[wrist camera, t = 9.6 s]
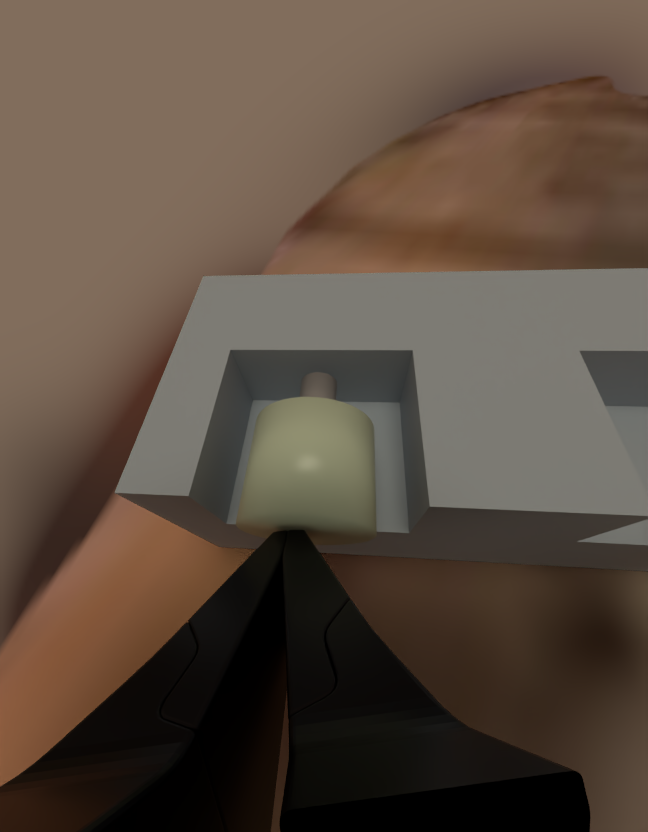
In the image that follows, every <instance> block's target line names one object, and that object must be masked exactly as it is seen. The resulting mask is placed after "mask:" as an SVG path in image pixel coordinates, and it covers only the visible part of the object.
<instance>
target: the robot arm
mask: <svg viewBox="0 0 648 832" xmlns="http://www.w3.org/2000/svg"><path fill="white" fill-rule="evenodd" d="M286 692H287V698H288V719H289V762H288V769H287V776H286V782H285V789H284V796H283V802H282V809H281V816H280V832H589V831H590V809H589V804H588V799H587V795H586V791H585V787H584V783H583V779H582V776H581V775H580V774H579V773H578V772H576V771H574V770H571V769H569V768H567V767H564V766H562V765H559V764H557V763H554V762H552V761H550V760H547V759H545V758H542V757H540V756H537V755H535V754H533V753H530V752H528V751H525V750H523V749H520V748H518V747H515V746H513V745H511V744H508V743H506V742H503V741H501V740H498V739H496V738H494V737H491V736H489V735H486V734H484V733H481V732H479V731H477V730H474V729H472V728H470V727H468V726H467V725H465V724H464V723H462V722H461V721H459V720H458V719H457V718H455V717H454V716H453V715H452V714H450V713H449V712H448V711H447V710H446V709H445V708H444V707H443V706H442V705H441V704H440V703H439V702H438V701H437V700H436V699H435V698H434V697H433V696H432V695H431V694H430V693H429V691H428V690H427V689H426V688H425V687H424V686H423V685H422V684H421V683H420V682H419V681H418V679H417V678H416V677H415V676H414V675H413V674H412V673H411V672H410V671H409V670H408V669H407V667H406V666H405V665H404V664H403V663H402V662H401V661H400V660H399V659H398V658H397V657H396V655H395V654H394V653H393V652H392V651H391V650H390V649H389V648H388V647H387V646H386V644H385V643H384V642H383V641H382V640H381V639H380V637H379V636H378V635H377V634H376V633H375V632H374V630H373V629H372V628H371V627H370V625H369V624H368V623H367V621H366V620H365V618H364V617H363V616H362V614H361V613H360V612H359V610H358V609H357V607H356V606H355V604H354V603H353V601H352V600H351V599H350V597H349V596H348V594H347V593H346V591H345V590H344V588H343V587H342V585H341V584H340V582H339V581H338V579H337V578H336V576H335V575H334V573H333V572H332V570H331V569H330V567H329V566H328V564H327V563H326V561H325V560H324V558H323V557H322V555H321V554H320V552H319V551H318V549H317V548H316V546H315V545H314V544H313V542H312V541H311V539H310V538H309V536H308V535H307V533H306V532H305V530H289V531H287V530H284V531H277V532H273V533H272V534H271V535H270V536H269V537H268V538H267V539H266V540H265V541H264V542H263V543H262V544H261V545H260V546H259V547H258V548H257V549H256V550H255V551H254V552H253V553H252V555H251V556H250V557H249V558H248V559H247V560H246V561H245V562H244V563H243V564H242V565H241V566H240V567H239V568H238V569H237V570H236V571H235V572H234V573H233V574H232V575H231V576H230V577H229V578H228V580H227V581H226V582H225V583H224V584H223V585H222V586H221V587H220V588H219V589H218V590H217V591H216V592H215V593H214V594H213V595H212V596H211V597H210V598H209V599H208V600H207V601H206V602H205V603H204V604H203V606H202V607H201V608H200V609H199V610H198V611H197V612H196V613H195V614H194V615H193V616H192V617H191V618H190V619H189V621H188V623H185V624H184V625H183V626H182V627H181V628H180V629H179V630H178V631H177V632H176V633H175V635H174V636H173V637H172V638H171V639H170V640H169V641H168V642H167V643H166V644H165V645H164V646H163V647H162V648H161V649H160V650H159V651H158V652H157V653H156V654H155V655H154V656H153V657H152V658H150V659H149V660H148V661H147V662H146V663H145V664H144V665H143V666H142V667H141V668H140V669H139V670H138V671H137V672H135V673H134V674H133V675H132V676H131V677H130V678H129V679H128V680H127V681H126V682H125V683H124V684H122V685H121V686H120V687H119V688H118V689H117V690H116V691H115V692H114V693H113V694H111V695H110V696H109V697H108V698H107V699H106V700H105V701H104V702H103V703H101V704H100V705H99V706H98V707H97V708H96V709H95V710H94V711H93V712H91V713H90V714H89V715H88V716H87V717H86V718H85V719H84V720H83V721H81V722H80V723H79V724H78V725H77V726H76V727H75V728H74V729H73V730H72V731H70V732H69V733H68V734H67V735H66V736H65V737H64V738H63V739H62V740H60V741H59V742H58V743H57V744H56V745H55V746H54V747H53V748H52V749H50V750H49V751H48V752H47V753H46V754H45V755H43V756H42V757H41V758H40V759H39V760H38V761H36V762H35V763H34V764H33V765H31V766H30V767H29V768H27V769H26V770H25V771H23V772H22V773H21V774H19V775H18V776H16V777H15V778H13V779H12V780H10V781H9V782H7V783H5V784H4V785H2V786H1V787H0V832H271V824H272V815H273V806H274V798H275V789H276V780H277V771H278V762H279V754H280V745H281V736H282V727H283V718H284V710H285V701H286Z"/></svg>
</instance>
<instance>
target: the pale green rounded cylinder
mask: <svg viewBox="0 0 648 832" xmlns="http://www.w3.org/2000/svg"><path fill="white" fill-rule="evenodd" d="M336 394H337V381H336V380H335V378H334V377H332V376H331V375H329V374H326V373H322V372H313V373H309V374H307V375H305V376H304V377H303V378H302V381H301V389H300V397H295V398H288V399H283V400H280V401H277V402H274V403H272V404H270V405H268V406H266V407H265V408H264V409H263V410H261V412H260V413H259V414H258V416H257V419H256V424H255V429H254V434H253V439H252V444H251V449H250V454H249V459H248V464H247V469H246V474H245V479H244V484H243V489H242V494H241V499H240V504H239V509H238V514H237V519H236V526H237V527H238V528H239V529H240V530H242V531H244V532H246V533H249V534H251V535H255V536H258V537H262V538H266V539H267V538H268V537H269V536H270V535H271V534H272V533H273V532H277V531H284V530H287V531H289V530H305V532H306V533H307V535H308V536H309V538H310V539H311V541H312V542H313V544H314V545H346V544H356V543H362V542H366V541H369V540H372V539H374V538H375V537H376V536H377V527H376V482H375V437H374V425H373V423H372V421H371V419H370V418H369V417H368V416H367V415H366V414H365V413H364V412H362V411H361V410H359V409H357V408H356V407H354V406H352V405H349V404H346V403H344V402H340V401H337V400H336Z"/></svg>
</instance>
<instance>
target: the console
mask: <svg viewBox="0 0 648 832" xmlns="http://www.w3.org/2000/svg"><path fill="white" fill-rule="evenodd" d="M313 372H322V373H326V374H329V375H331V376H332V377H334V378H335V380H336V381H337V394H336V400H337V401H340V402H344V403H346V404H349V405H352V406H354V407H356V408H357V409H359V410H361V411H362V412H364V413H365V414H366V415H367V416H368V417H369V418H370V419H371V421H372V423H373V425H374V437H375V482H376V527H377V536H376V537H375V538H374V539H372V540H369V541H366V542H362V543H356V544H346V545H315V546H316V548H317V549H318V551H319V552H320V553H335V554H353V555H370V556H388V557H405V558H423V559H441V560H458V561H476V562H493V563H511V564H528V565H546V566H563V567H581V568H598V569H616V570H633V571H648V268H635V269H579V270H523V271H466V272H410V273H354V274H298V275H247V276H246V275H242V276H204V277H203V279H202V281H201V284H200V286H199V289H198V291H197V293H196V296H195V298H194V301H193V303H192V306H191V308H190V311H189V313H188V315H187V318H186V320H185V323H184V325H183V327H182V330H181V332H180V335H179V337H178V340H177V342H176V345H175V347H174V349H173V352H172V354H171V357H170V359H169V362H168V364H167V366H166V369H165V372H164V374H163V376H162V379H161V381H160V383H159V386H158V388H157V391H156V393H155V396H154V398H153V401H152V403H151V405H150V408H149V410H148V413H147V415H146V418H145V420H144V422H143V425H142V427H141V430H140V432H139V435H138V437H137V440H136V442H135V445H134V447H133V450H132V452H131V454H130V457H129V459H128V462H127V464H126V467H125V469H124V471H123V474H122V476H121V479H120V481H119V483H118V486H117V488H116V491H115V493H116V494H118V495H120V496H122V497H124V498H126V499H127V500H129V501H131V502H133V503H135V504H137V505H139V506H141V507H143V508H145V509H147V510H149V511H151V512H153V513H155V514H157V515H158V516H160V517H162V518H164V519H166V520H168V521H170V522H172V523H174V524H176V525H178V526H180V527H182V528H184V529H186V530H188V531H189V532H191V533H193V534H195V535H197V536H199V537H201V538H203V539H205V540H207V541H209V542H211V543H213V544H215V545H217V546H219V547H230V548H248V549H257V548H258V547H259V546H260V545H261V544H262V543H263V542H264V541H265V540H266V538H262V537H258V536H255V535H251V534H249V533H246V532H244V531H242V530H240V529H239V528H238V527H237V526H236V519H237V514H238V509H239V504H240V499H241V494H242V489H243V484H244V479H245V474H246V469H247V464H248V459H249V454H250V449H251V444H252V439H253V434H254V429H255V424H256V419H257V416H258V414H259V413H260V412H261V410H263V409H264V408H265V407H266V406H268V405H270V404H272V403H274V402H277V401H280V400H283V399H288V398H295V397H300V389H301V381H302V378H303V377H304V376H305V375H307V374H309V373H313Z"/></svg>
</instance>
